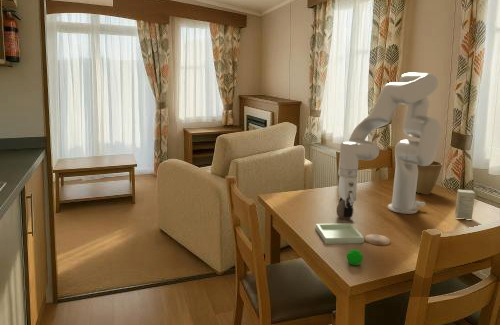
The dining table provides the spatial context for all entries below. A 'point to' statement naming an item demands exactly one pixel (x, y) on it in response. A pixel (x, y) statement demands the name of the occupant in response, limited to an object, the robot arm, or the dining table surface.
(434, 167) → the plant pot
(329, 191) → the dining table surface
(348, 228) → the tray
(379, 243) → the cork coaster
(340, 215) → the vase
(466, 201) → the skincare box
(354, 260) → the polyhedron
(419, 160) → the robot arm
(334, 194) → the dining table surface
